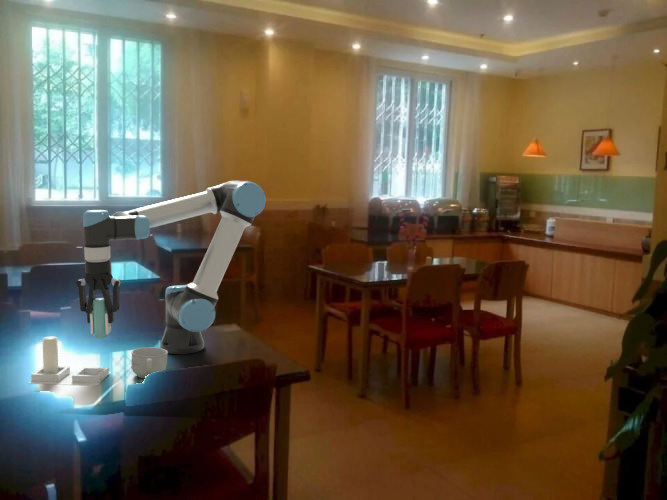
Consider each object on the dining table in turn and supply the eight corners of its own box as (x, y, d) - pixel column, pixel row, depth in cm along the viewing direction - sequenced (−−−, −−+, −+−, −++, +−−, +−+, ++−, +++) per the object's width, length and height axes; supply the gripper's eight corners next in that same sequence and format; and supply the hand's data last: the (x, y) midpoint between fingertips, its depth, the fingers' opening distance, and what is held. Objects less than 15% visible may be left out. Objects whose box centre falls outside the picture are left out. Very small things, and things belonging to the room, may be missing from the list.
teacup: (136, 369, 197) (136, 345, 196) (170, 370, 198) (170, 346, 197) (125, 385, 183) (125, 359, 182) (162, 385, 184) (162, 359, 183)
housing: (111, 374, 191) (111, 365, 191) (96, 388, 179) (96, 378, 179) (47, 372, 191) (46, 363, 191) (28, 386, 179) (27, 376, 179)
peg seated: (60, 374, 187) (59, 336, 185) (54, 379, 183) (53, 340, 181) (47, 374, 187) (46, 336, 185) (41, 378, 183) (40, 339, 181)
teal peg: (109, 334, 196) (108, 297, 194) (105, 338, 192) (103, 300, 190) (97, 334, 196) (95, 297, 194) (92, 338, 192) (90, 300, 190)
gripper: (129, 258, 194) (131, 330, 198) (75, 257, 194) (78, 329, 197) (121, 262, 187) (123, 336, 190) (65, 261, 187) (69, 336, 190)
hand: (101, 332), depth 194 cm, fingers closed on teal peg, 4 cm apart
